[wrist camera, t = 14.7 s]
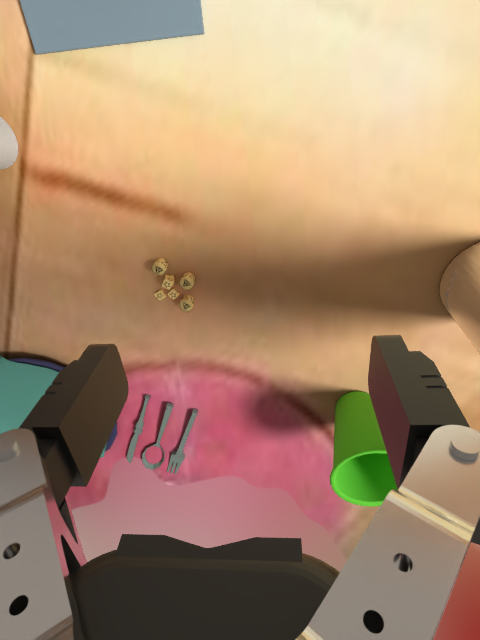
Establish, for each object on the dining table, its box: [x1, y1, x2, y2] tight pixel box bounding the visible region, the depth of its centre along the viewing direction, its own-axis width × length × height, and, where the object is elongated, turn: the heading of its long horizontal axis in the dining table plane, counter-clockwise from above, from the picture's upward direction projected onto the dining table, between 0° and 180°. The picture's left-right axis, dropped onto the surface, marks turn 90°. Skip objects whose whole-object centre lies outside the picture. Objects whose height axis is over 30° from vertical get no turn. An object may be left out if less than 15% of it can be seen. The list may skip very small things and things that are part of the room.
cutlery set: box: [0, 356, 198, 474], centre depth 55 cm, size 20×30×2 cm, turn 72°
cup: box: [330, 391, 398, 506], centre depth 45 cm, size 9×9×11 cm
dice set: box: [152, 258, 196, 312], centre depth 43 cm, size 5×5×2 cm
